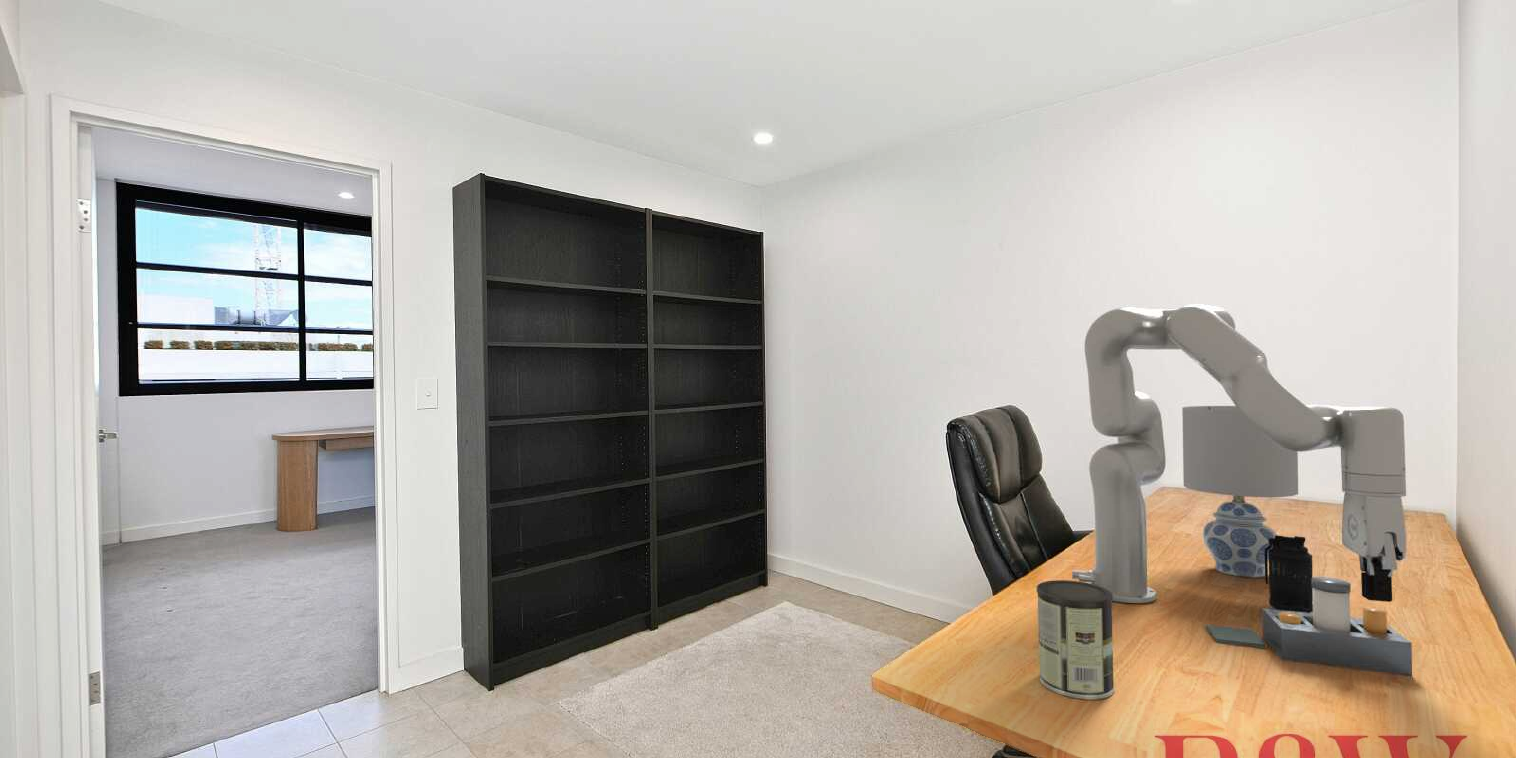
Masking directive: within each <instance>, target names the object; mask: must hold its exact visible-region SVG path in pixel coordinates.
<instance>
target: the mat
mask: <svg viewBox="0 0 1516 758" xmlns="http://www.w3.org/2000/svg"><path fill="white" fill-rule="evenodd" d="M1205 627H1206V630H1207V631H1208V633H1209V634H1210V636H1211V637H1212V639H1213V640H1214V642H1215V643H1221V644H1229V645H1236V646H1237V645H1239V646H1245V647H1254V648H1261V649H1262V648H1263V649H1266V643H1265V641H1263V639H1261V637H1260V636H1259V635H1258V634H1257V632H1256V631H1255V630H1254V629H1253V628H1252V629H1249V628H1241V627H1234V626H1233V627H1232V626H1222V625H1216V624H1214V625H1213V624H1206V626H1205Z"/></svg>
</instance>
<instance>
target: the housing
mask: <svg viewBox="0 0 1516 758" xmlns="http://www.w3.org/2000/svg"><path fill="white" fill-rule="evenodd" d="M1261 611H1262V612H1261V622H1262V624H1261V625H1262V639H1264V641H1265V642H1266V643H1267V644H1268V645H1269V646H1270V648H1271V649H1272V650H1273V651H1274V652H1275V654H1277V656H1278V657H1279V658H1280V659H1281V660H1282V661H1290V662H1300V663H1307V664H1314V665H1322V666H1331V667H1341V668H1348V669H1356V670H1362V671H1363V670H1364V671H1371V672H1381V673H1388V674H1395V675H1397V674H1398V675H1404V676H1411V677H1412V676H1413V651H1412V650H1413V648H1412V647H1413V645H1412V641H1410V640H1409V639H1407V638H1406V637H1404V636H1403V635H1402V634H1400V633H1399V632H1397V631H1396V630H1395V629H1393V628H1392V627H1390V626H1389V625H1388V624H1387V633H1379V632H1370V631H1365V630H1364V629H1363V617H1354V616H1350V632H1346V631H1337V630H1327V629H1318V628H1315V627H1314V626H1313V612H1311V613H1304V612H1294V611H1284V610H1276V609H1275V608H1273V609H1272V608H1263V607H1262V609H1261ZM1279 612H1290V613H1295V614H1298V615H1300V616H1301V624H1294V623H1285V622H1280V621H1279Z"/></svg>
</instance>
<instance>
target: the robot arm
mask: <svg viewBox="0 0 1516 758" xmlns="http://www.w3.org/2000/svg"><path fill="white" fill-rule="evenodd" d="M1084 339H1085V340H1084V355H1085V356H1084V357H1085V362H1086V369H1087V376H1088V377H1087V378H1088V379H1087V380H1088V391H1089V392H1088V393H1089V404H1090V405H1089V406H1090V413H1091V421H1092V425H1093V428H1094V429H1095V431H1097V432H1098V433H1099V434H1100V435H1102V436H1106V437H1111V438H1117V443H1111V444H1107V445H1104V446H1102V447H1100V448H1099V449H1097V450H1096V451H1095V453H1094V454H1093V455H1092V457H1091V458H1090V461H1089V476H1090V478H1089V479H1090V482H1091V485H1092V486H1091V487H1092V493H1093V503H1094V504H1093V505H1094V506H1093V507H1094V538H1095V541H1094V543H1095V544H1094V547H1095V551H1094V552H1095V566H1092V569H1088V571H1086V570H1083V571H1082V570H1080V569H1072V570H1071V578H1072V579H1073V580H1078V582H1085V583H1090V584H1094V585H1097V586H1100V587H1103V588H1105V589H1107V590H1109V591H1110V592H1111V593H1112V595H1113V600H1112V602H1118V603H1127V604H1144V603H1145V604H1146V603H1152V602H1154V601H1155V600H1156V599H1157V592H1156V591H1155V590H1154V589H1153V588H1151V587H1149V586H1148V553H1147V552H1148V551H1147V550H1148V549H1147V548H1148V547H1147V545H1148V544H1147V509H1146V502H1145V499H1144V495H1143V492H1142V488H1141V487H1143V486H1146V485H1151V484H1153V483H1155V482H1157V481H1158V480H1160V479H1161V477H1162V475H1163V474H1164V472H1165V468H1166V451H1165V450H1166V449H1165V439H1164V430H1163V422H1162V415H1161V411H1160V408H1159V405H1157V403H1156V401H1155V400H1154V399H1153V398H1152V397H1150V396H1149V395H1147V394H1145V393H1144V392H1140V391H1136V389H1135V381H1134V371H1133V367H1132V364H1131V362H1130V360H1129V358H1128V351H1129V350H1132V349H1133V350H1181V351H1182V352H1184V353H1185V355H1187V356H1188V357H1189V358H1190V359H1192V361H1194V362H1195V363H1196V364H1197V365H1199V366H1200V367H1201V368H1202V369H1203V370H1204V371H1206V372H1207V374H1209V375H1210V376H1211V377H1212V378H1214V380H1215V381H1216V382H1218V384H1220V385H1221V386H1222V388H1223V390H1224V392H1225V393H1226V394H1227V396H1228V397H1229V398H1230V399H1231V401H1232V403H1233V404H1234V406H1236V407H1237V408H1238V409H1239V410H1240V412H1241V413H1242V414H1243V415H1244V416H1245V417H1246V418H1247V419H1248V420H1249V421H1251V422H1252V423H1253V424H1254V425H1255V426H1256V427H1257V428H1259V429H1260V430H1261V431H1262V432H1263V433H1264V434H1265V435H1267V436H1268V437H1269V438H1270V439H1271V440H1273V441H1274V442H1275V443H1277V444H1278V445H1280V446H1282V447H1284V448H1286V449H1289V450H1292V451H1298V452H1300V453H1302V452H1303V453H1304V452H1310V451H1311V452H1312V451H1315V450H1321V449H1323V450H1324V449H1329V448H1330V449H1332V448H1340V467H1341V491H1342V492H1343V493H1344V496H1343V501H1342V502H1343V503H1342V520H1341V521H1342V522H1341V543H1342V545H1343V546H1344V547H1345V548H1346V549H1348V550H1349V551H1351V552H1353V553H1355V554H1356V555H1358V559H1359V568H1360V572H1361V573H1360V577H1361V578H1360V579H1361V582H1360V583H1361V596H1362V597H1363V598H1365V599H1367V600H1368V601H1374V602H1384V603H1385V602H1387V603H1388V602H1389V603H1390V602H1392V601H1393V584H1392V583H1393V581H1392V580H1393V579H1392V578H1393V571H1397V570H1398V563H1397V561H1398V562H1399V561H1403V560H1405V558H1406V557H1407V534H1406V533H1407V532H1406V531H1407V530H1406V521H1405V514H1404V512H1405V511H1404V506H1403V500H1402V497H1403V498H1404V497H1407V478H1406V477H1407V475H1406V471H1407V470H1406V450H1405V448H1406V446H1405V445H1406V444H1405V420H1404V418H1405V417H1404V415H1403V412H1402V411H1401V410H1399V409H1398V408H1394V407H1388V406H1354V407H1352V406H1351V407H1344V406H1342V407H1341V406H1333V405H1325V404H1324V405H1323V404H1308V405H1307V404H1304V403H1303V402H1301V400H1299V399H1298V398H1297V397H1295V396H1294V395H1293V394H1292V393H1290V391H1288V390H1287V388H1285V387H1284V386H1282V385H1281V384H1280V383H1279V381H1278V380H1276V378H1275V377H1274V376H1273V375H1272V373H1271V371H1270V369H1269V367H1268V359H1267V356H1266V354H1265V353H1264V352H1263V351H1262V350H1261V349H1260V348H1259V347H1257V346H1256V345H1255V344H1254V343H1252V342H1251V341H1250V340H1249V339H1247V338H1246V337H1245V336H1244V335H1243V334H1241V333H1240V332H1238V330H1237V329H1236V324H1235V320H1234V318H1233V317H1232V316H1231V314H1230V313H1229V312H1228V311H1226V310H1225V309H1224V308H1221V307H1218V306H1213V305H1205V304H1189V305H1184V306H1181V307H1179V308H1176V309H1148V308H1140V307H1139V308H1138V307H1118V308H1115V309H1111V310H1109V311H1107V312H1105V313H1103V314H1101V315H1100V316H1098V317H1097V318H1096V319H1095V320H1094V321H1093V323H1092V324H1091V326H1090V327H1089V328H1088V331H1086V335H1085V338H1084Z"/></svg>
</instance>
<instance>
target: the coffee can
mask: <svg viewBox="0 0 1516 758" xmlns="http://www.w3.org/2000/svg"><path fill="white" fill-rule="evenodd" d="M1036 592H1037V616H1038V617H1037V621H1038V623H1037V624H1038V660H1039V667H1038V668H1039V673H1038V674H1039V676H1038V679H1039V683H1041V684H1042V685H1043V687H1045V688H1046V689H1047V690H1050V691H1052V692H1054V693H1056V694H1058V695H1062V696H1064V697H1066V698H1072V699H1076V700H1078V699H1079V700H1085V701H1086V700H1088V701H1089V700H1090V701H1094V700H1095V701H1096V700H1104V699H1107V698H1109V697H1111V696H1112V695H1113V694H1114V693H1115V685H1114V684H1115V683H1114V655H1113V654H1114V649H1113V648H1114V646H1113V612H1112V611H1113V605H1112V604H1113V601H1112V600H1113V595H1112V593H1111V592H1110V591H1109V590H1107V589H1105V588H1103V587H1100V586H1097V585H1094V584H1090V582H1081V581H1079V580H1078V581H1077V580H1067V579H1066V580H1065V579H1064V580H1063V579H1059V580H1058V579H1057V580H1047V581H1042V582H1040V583H1039V584H1037V585H1036Z"/></svg>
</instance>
